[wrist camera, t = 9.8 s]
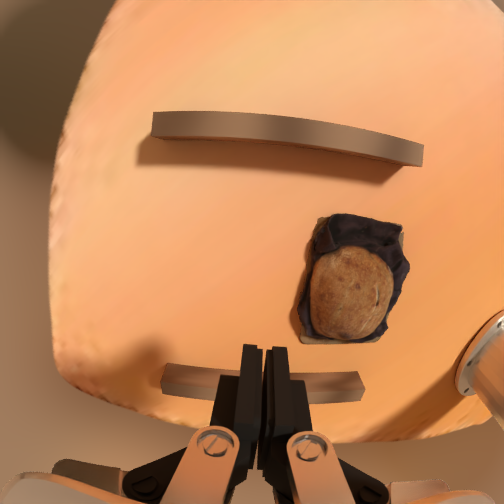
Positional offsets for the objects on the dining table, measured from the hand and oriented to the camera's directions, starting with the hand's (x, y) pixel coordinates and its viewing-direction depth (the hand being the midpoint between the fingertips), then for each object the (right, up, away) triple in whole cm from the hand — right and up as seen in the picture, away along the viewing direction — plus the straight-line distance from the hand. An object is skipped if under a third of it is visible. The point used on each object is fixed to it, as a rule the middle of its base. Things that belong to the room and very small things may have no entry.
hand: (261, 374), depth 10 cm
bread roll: (+7, +2, +11) cm, 13 cm away
